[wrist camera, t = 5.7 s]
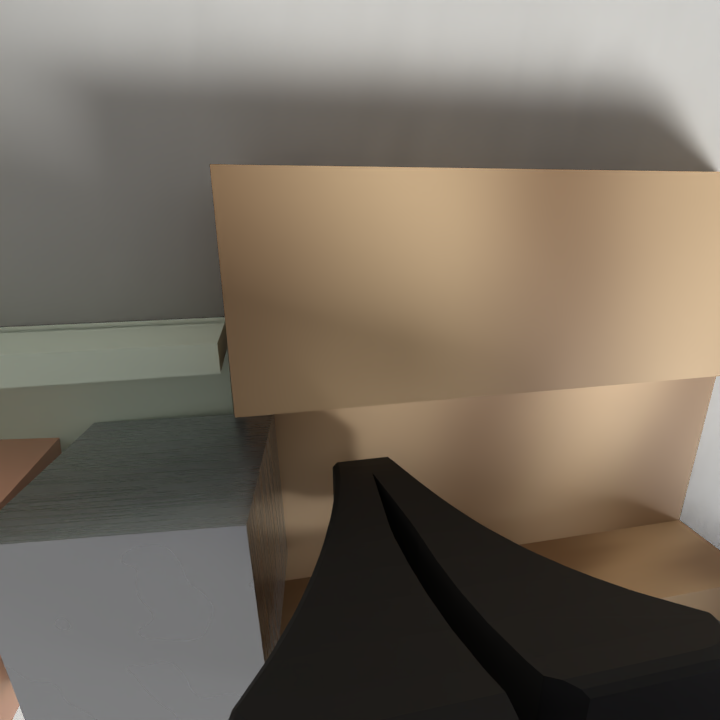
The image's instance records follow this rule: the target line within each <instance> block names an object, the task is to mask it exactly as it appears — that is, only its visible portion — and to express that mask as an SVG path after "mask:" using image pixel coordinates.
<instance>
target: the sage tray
mask: <svg viewBox="0 0 720 720" xmlns="http://www.w3.org/2000/svg"><path fill="white" fill-rule="evenodd" d="M227 414H234V405H233V395H232V385H231V375H230V365H229V355H228V344H227V334H226V324H225V317H215V318H193V319H171V320H149V321H127V322H105V323H83V324H61V325H39V326H18V327H0V439H33V438H59V439H60V445H61V452H63V451H64V450H66V449H67V448H68V447H69V446H70V445H71V444H72V443H73V442H74V441H75V440H76V439H77V438H78V437H80V436H81V435H82V434H83V433H84V432H85V431H86V430H87V429H88V428H89V427H90V426H91V425H92V424H94V423H98V422H114V421H130V420H146V419H162V418H178V417H195V416H211V415H227Z"/></svg>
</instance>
